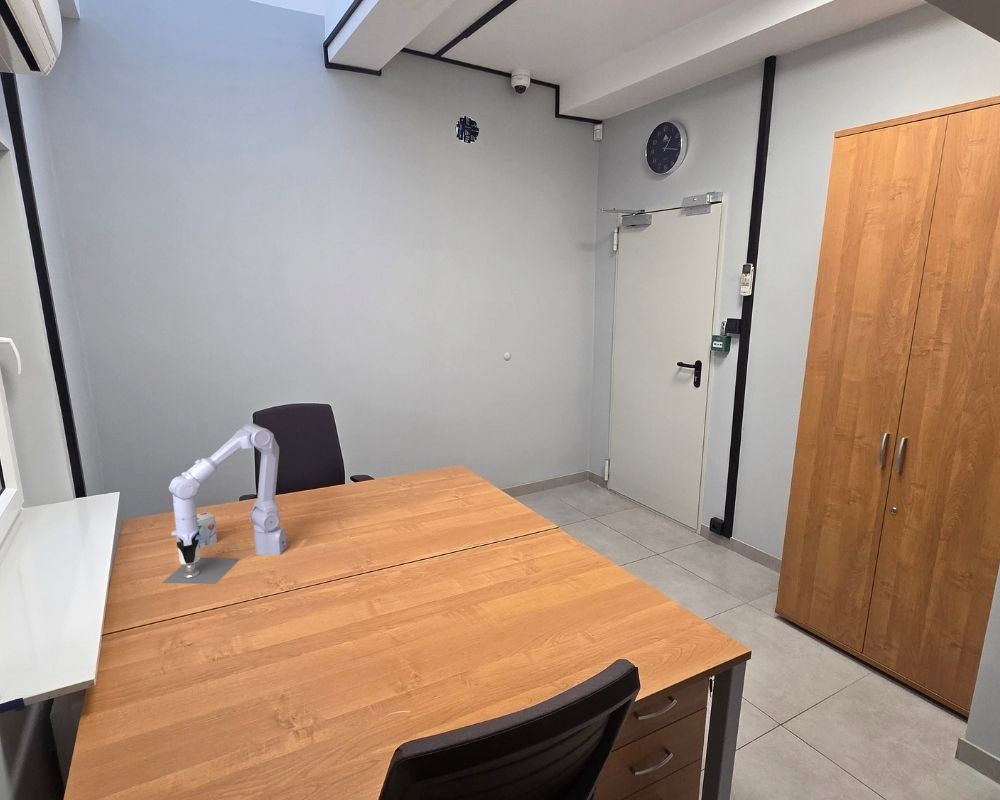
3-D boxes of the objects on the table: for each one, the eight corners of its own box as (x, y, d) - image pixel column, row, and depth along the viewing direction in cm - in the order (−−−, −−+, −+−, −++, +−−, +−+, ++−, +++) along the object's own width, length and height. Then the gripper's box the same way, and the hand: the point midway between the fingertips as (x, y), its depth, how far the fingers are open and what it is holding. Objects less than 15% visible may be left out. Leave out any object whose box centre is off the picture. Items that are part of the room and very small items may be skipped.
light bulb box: (185, 556, 182) (182, 525, 180) (176, 550, 186) (173, 520, 184) (218, 545, 190) (215, 515, 188) (209, 539, 194) (206, 510, 192)
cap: (203, 556, 170) (201, 542, 169) (193, 564, 165) (192, 550, 164) (186, 555, 170) (184, 542, 169) (176, 564, 165) (175, 550, 164)
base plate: (241, 561, 179) (240, 558, 179) (215, 586, 163) (215, 583, 163) (191, 560, 179) (191, 557, 179) (161, 585, 163) (161, 582, 163)
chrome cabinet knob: (202, 571, 170) (201, 559, 170) (194, 578, 166) (193, 566, 165) (188, 571, 170) (186, 559, 170) (179, 578, 166) (178, 565, 165)
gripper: (170, 510, 169) (174, 551, 171) (169, 527, 156) (174, 571, 159) (196, 506, 172) (200, 546, 175) (198, 523, 160) (201, 566, 162)
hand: (189, 558), depth 167 cm, fingers closed on cap, 5 cm apart
